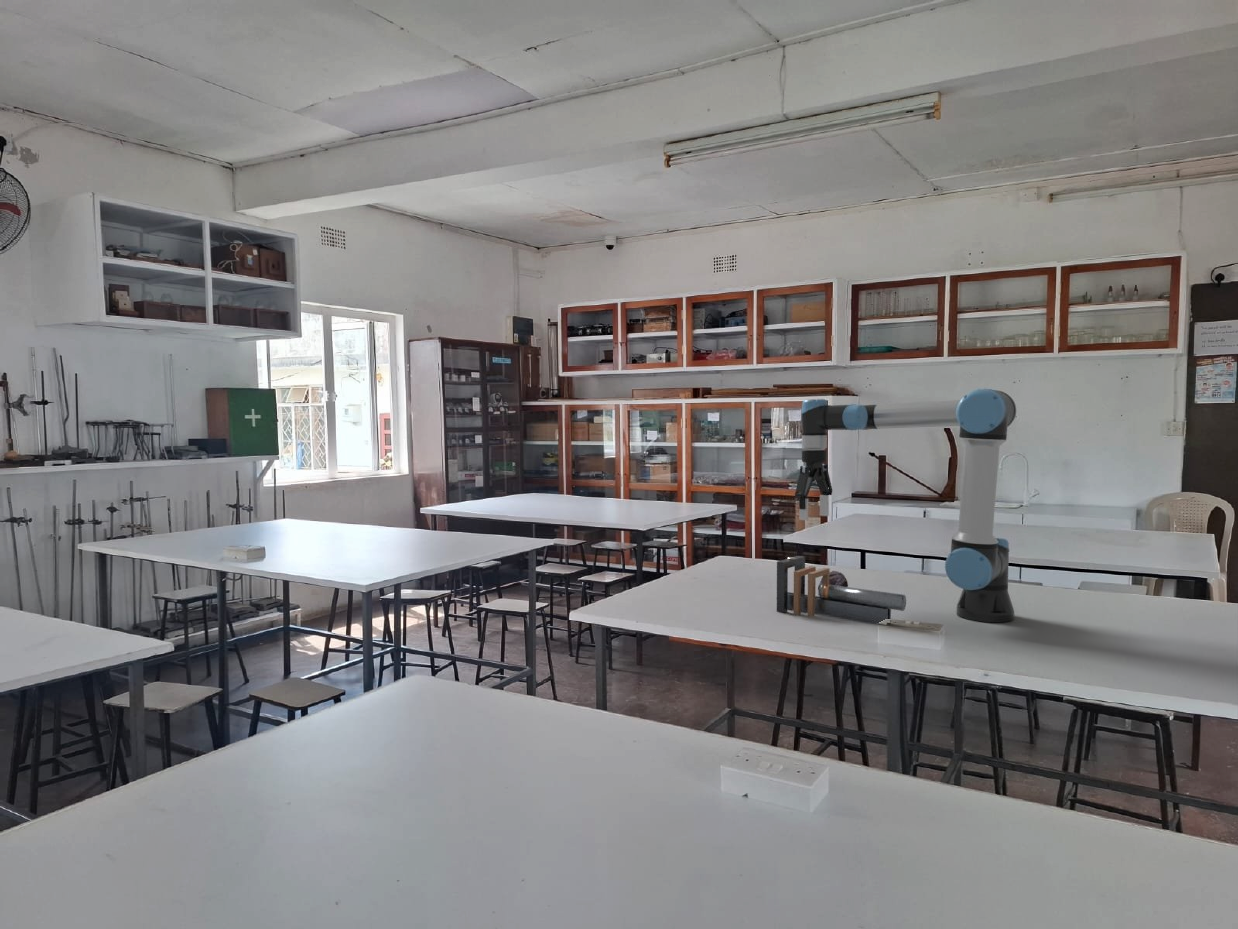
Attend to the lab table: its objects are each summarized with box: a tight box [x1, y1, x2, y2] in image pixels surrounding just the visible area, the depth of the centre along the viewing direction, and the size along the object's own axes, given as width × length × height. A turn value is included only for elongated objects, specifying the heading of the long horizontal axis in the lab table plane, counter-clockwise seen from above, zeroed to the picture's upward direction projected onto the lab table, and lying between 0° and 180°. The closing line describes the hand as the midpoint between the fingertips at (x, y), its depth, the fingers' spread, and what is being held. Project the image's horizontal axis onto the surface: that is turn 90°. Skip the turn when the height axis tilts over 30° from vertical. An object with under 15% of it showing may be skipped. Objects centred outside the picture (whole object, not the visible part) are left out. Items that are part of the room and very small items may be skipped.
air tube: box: [818, 584, 907, 612], centre depth 225 cm, size 24×4×4 cm, turn 50°
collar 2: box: [807, 567, 831, 618], centre depth 233 cm, size 2×11×12 cm, turn 140°
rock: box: [817, 570, 849, 596], centre depth 249 cm, size 12×9×10 cm
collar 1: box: [793, 565, 817, 615], centre depth 236 cm, size 2×11×12 cm, turn 140°
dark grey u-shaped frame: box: [776, 555, 806, 614], centre depth 239 cm, size 2×13×15 cm, turn 140°
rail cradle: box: [788, 591, 892, 624], centre depth 230 cm, size 32×3×4 cm, turn 50°
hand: (814, 518), depth 245 cm, fingers open, 13 cm apart
